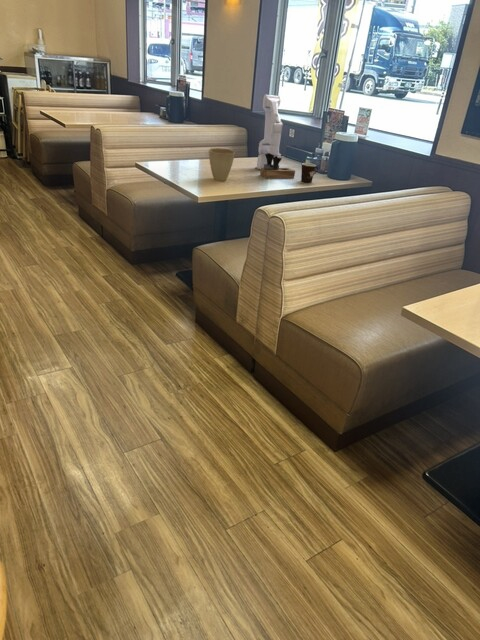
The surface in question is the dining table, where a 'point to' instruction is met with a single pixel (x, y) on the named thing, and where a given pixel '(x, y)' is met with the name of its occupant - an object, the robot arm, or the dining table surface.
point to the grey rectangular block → (270, 167)
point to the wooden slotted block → (278, 173)
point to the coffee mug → (308, 172)
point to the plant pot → (221, 162)
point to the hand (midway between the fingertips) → (272, 167)
